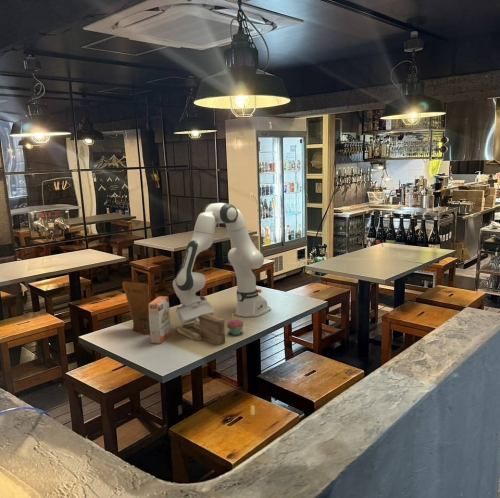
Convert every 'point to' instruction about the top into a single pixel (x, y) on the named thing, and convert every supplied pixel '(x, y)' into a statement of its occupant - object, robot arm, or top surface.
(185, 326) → the chute
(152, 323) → the cracker box
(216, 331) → the block
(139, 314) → the pancake mix bag
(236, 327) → the cupcake
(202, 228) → the robot arm
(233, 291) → the top surface
